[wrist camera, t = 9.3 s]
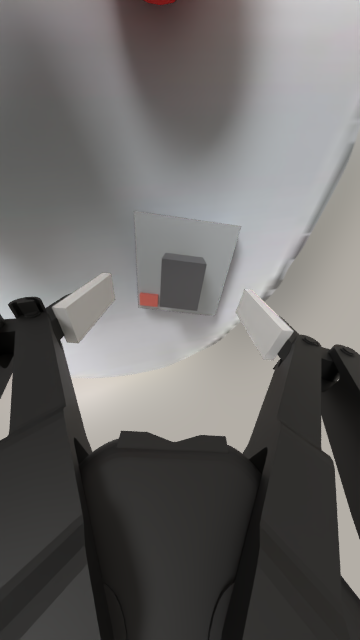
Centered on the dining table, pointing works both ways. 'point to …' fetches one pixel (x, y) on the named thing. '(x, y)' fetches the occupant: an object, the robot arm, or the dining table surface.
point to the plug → (181, 281)
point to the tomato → (160, 1)
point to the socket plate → (183, 239)
